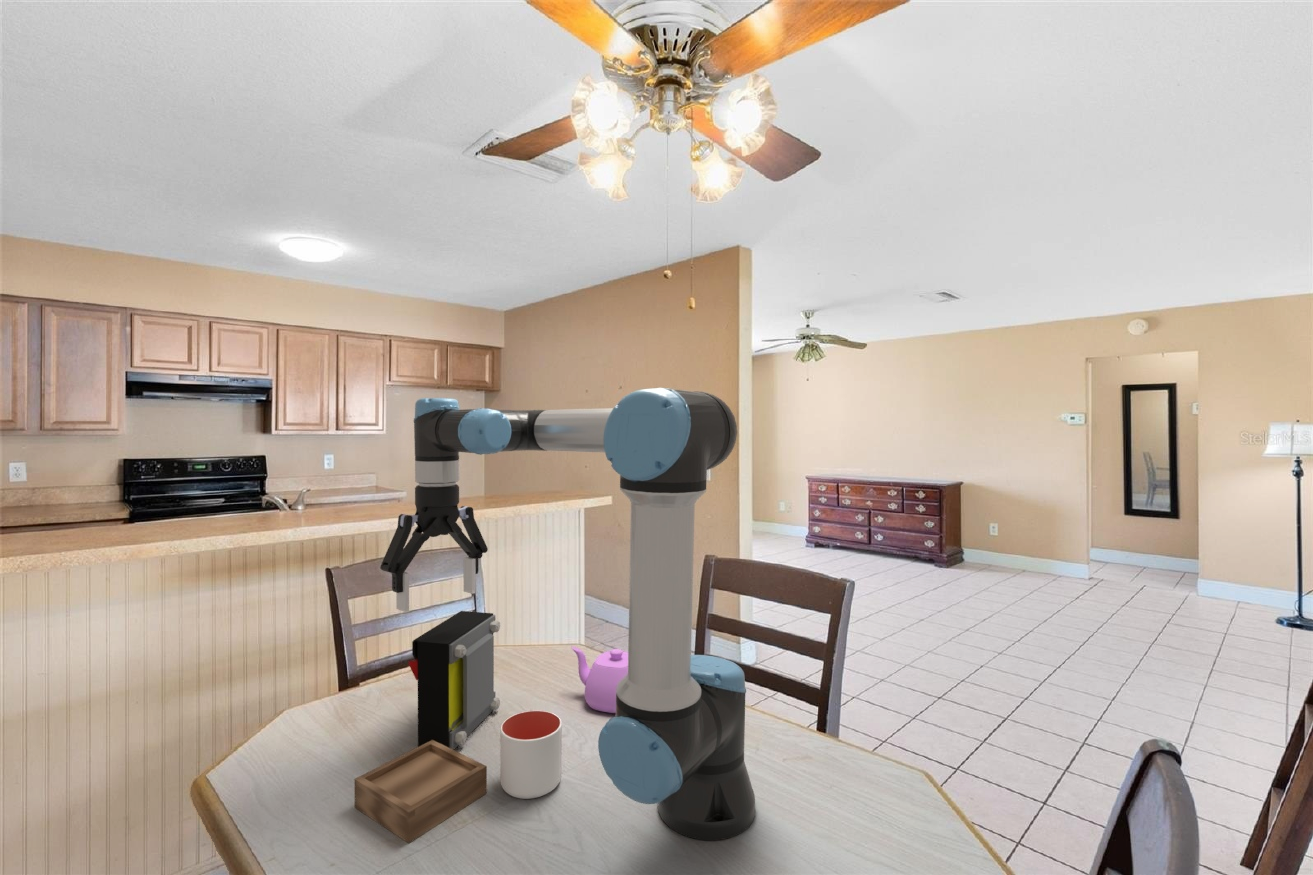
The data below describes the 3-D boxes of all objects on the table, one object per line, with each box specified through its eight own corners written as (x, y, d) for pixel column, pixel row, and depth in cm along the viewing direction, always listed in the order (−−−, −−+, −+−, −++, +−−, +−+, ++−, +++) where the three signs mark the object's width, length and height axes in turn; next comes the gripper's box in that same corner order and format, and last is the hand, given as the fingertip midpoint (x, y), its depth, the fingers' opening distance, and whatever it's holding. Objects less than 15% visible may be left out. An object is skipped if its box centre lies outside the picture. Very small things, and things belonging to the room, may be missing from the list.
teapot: (583, 682, 140) (583, 634, 140) (666, 694, 134) (667, 644, 134) (557, 708, 127) (557, 656, 127) (647, 723, 121) (648, 668, 121)
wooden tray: (486, 793, 98) (486, 766, 98) (408, 843, 87) (408, 812, 86) (432, 765, 106) (432, 739, 106) (354, 807, 94) (354, 779, 94)
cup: (542, 760, 108) (542, 704, 108) (573, 786, 100) (573, 726, 100) (489, 781, 101) (489, 722, 101) (518, 811, 94) (518, 747, 94)
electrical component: (459, 754, 109) (459, 645, 109) (408, 748, 111) (408, 640, 111) (503, 709, 127) (503, 614, 126) (458, 704, 129) (458, 610, 128)
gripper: (481, 477, 122) (481, 582, 122) (358, 488, 102) (359, 613, 102) (506, 479, 117) (506, 589, 118) (381, 491, 97) (382, 623, 98)
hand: (437, 600), depth 110 cm, fingers open, 13 cm apart
